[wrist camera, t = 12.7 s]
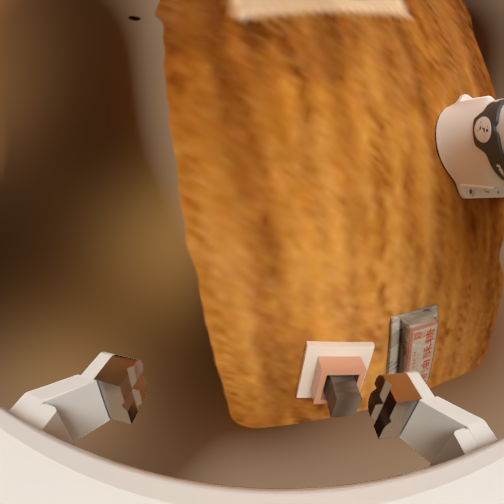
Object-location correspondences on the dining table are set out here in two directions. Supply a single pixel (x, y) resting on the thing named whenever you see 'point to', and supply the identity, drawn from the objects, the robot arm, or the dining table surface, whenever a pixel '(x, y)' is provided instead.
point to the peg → (342, 395)
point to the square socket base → (331, 366)
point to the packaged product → (413, 342)
